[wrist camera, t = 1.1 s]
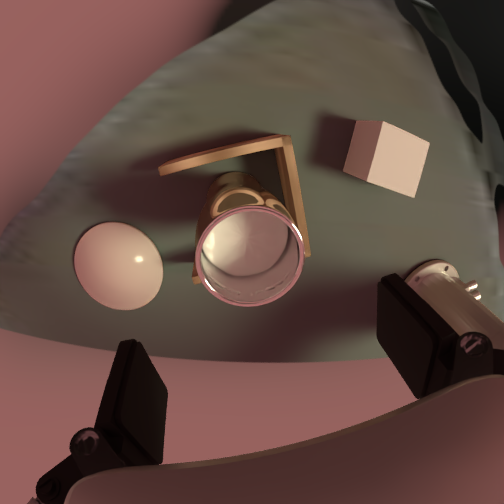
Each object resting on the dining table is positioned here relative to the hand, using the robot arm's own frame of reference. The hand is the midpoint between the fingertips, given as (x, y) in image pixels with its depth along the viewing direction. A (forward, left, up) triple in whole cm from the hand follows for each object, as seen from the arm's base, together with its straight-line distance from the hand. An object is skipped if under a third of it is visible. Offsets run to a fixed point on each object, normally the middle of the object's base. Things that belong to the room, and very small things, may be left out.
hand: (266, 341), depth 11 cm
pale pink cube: (-16, -2, -23) cm, 28 cm away
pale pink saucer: (+15, +4, -23) cm, 27 cm away
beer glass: (0, 0, -23) cm, 23 cm away
